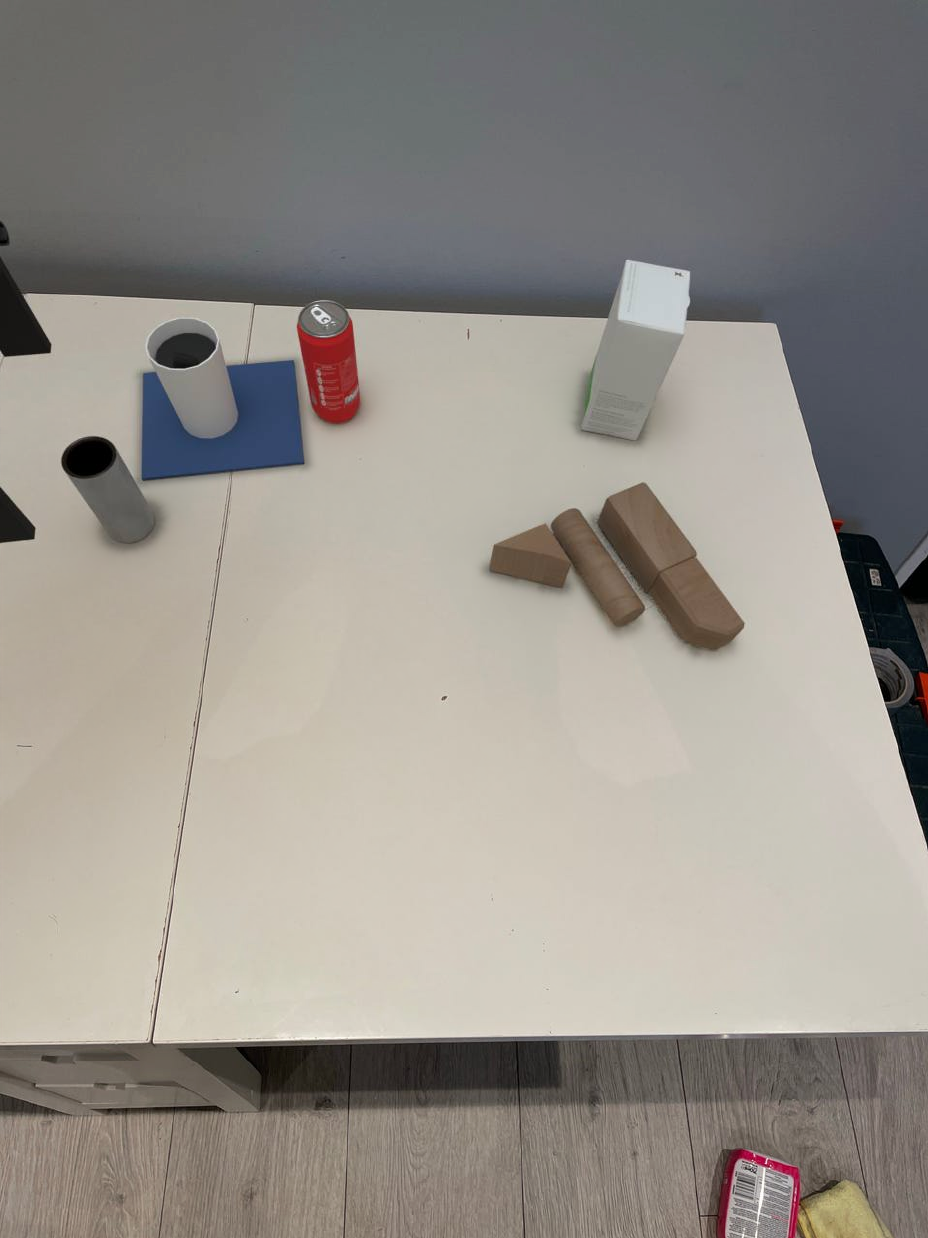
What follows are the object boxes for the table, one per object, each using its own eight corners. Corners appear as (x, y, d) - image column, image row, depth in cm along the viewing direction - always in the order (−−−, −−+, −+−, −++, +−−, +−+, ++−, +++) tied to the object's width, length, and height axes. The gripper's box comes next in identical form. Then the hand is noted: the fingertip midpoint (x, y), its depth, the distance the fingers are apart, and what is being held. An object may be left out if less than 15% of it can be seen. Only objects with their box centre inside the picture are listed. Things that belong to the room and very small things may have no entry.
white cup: (245, 437, 76) (221, 365, 67) (178, 446, 75) (146, 374, 66) (239, 388, 79) (216, 313, 70) (175, 396, 78) (144, 321, 69)
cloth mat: (142, 480, 74) (141, 478, 73) (144, 375, 79) (143, 372, 79) (304, 463, 76) (303, 461, 75) (294, 362, 81) (293, 359, 81)
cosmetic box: (589, 375, 83) (624, 254, 69) (647, 387, 83) (693, 267, 69) (579, 433, 79) (614, 317, 65) (640, 444, 79) (687, 331, 65)
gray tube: (116, 501, 72) (72, 431, 63) (161, 507, 72) (124, 439, 63) (100, 539, 70) (51, 474, 61) (146, 546, 70) (105, 482, 61)
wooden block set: (643, 466, 71) (756, 617, 64) (627, 500, 76) (731, 644, 69) (488, 529, 67) (592, 699, 60) (483, 561, 72) (579, 720, 65)
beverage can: (331, 434, 77) (317, 347, 67) (302, 404, 79) (284, 314, 68) (370, 410, 79) (363, 321, 68) (341, 381, 81) (329, 290, 70)
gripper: (-273, 261, 19) (76, 620, 38) (-117, -171, 29) (95, 281, 48) (-616, 283, 18) (-81, 640, 37) (-328, -171, 28) (-27, 290, 47)
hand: (19, 437), depth 43 cm, fingers open, 13 cm apart
